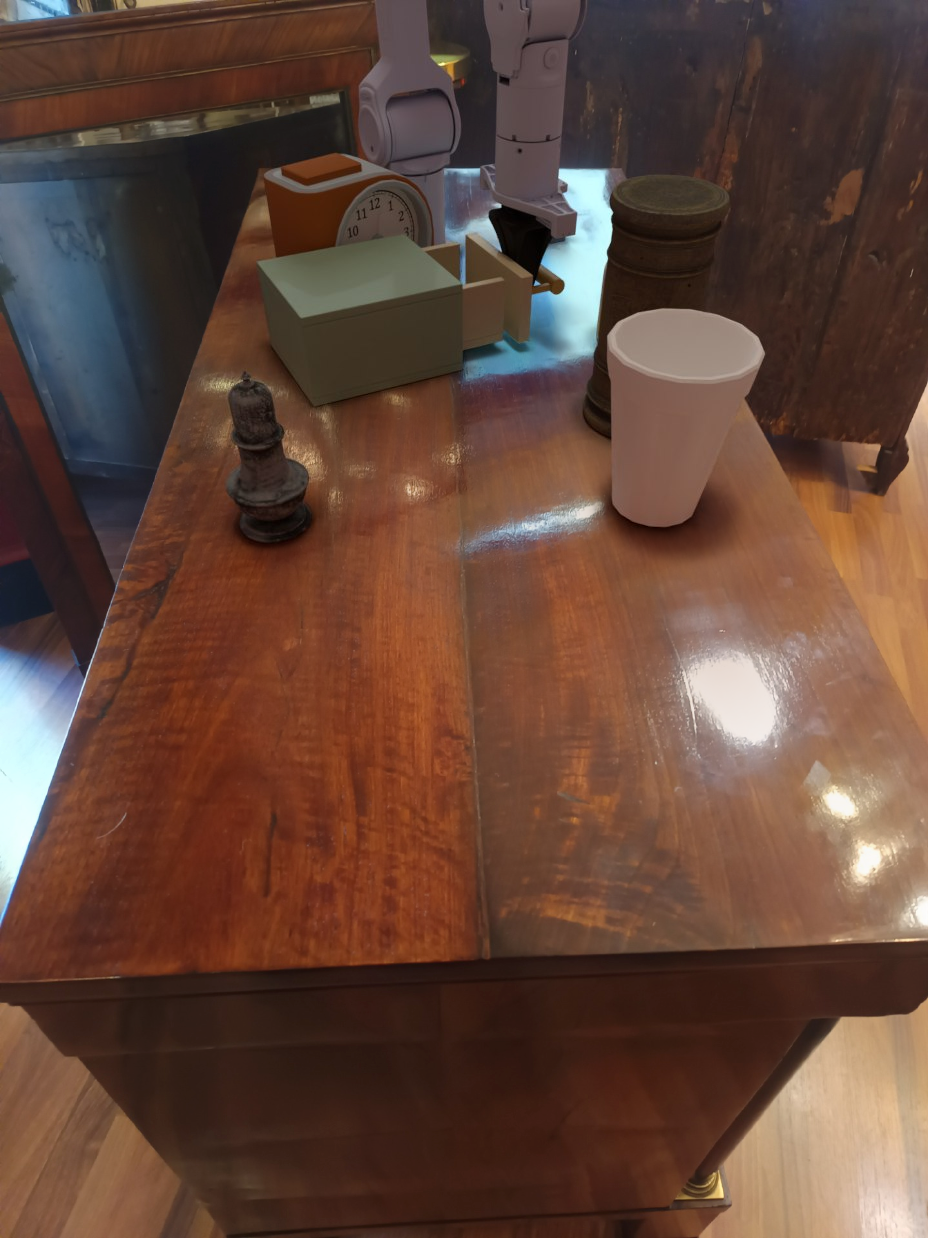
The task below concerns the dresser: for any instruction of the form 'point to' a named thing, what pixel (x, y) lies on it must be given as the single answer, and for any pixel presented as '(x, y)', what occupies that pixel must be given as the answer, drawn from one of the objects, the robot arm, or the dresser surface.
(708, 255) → the container
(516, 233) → the robot arm
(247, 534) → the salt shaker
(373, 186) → the alarm clock
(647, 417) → the cup
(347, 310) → the cabinet
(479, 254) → the drawer
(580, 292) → the dresser surface
